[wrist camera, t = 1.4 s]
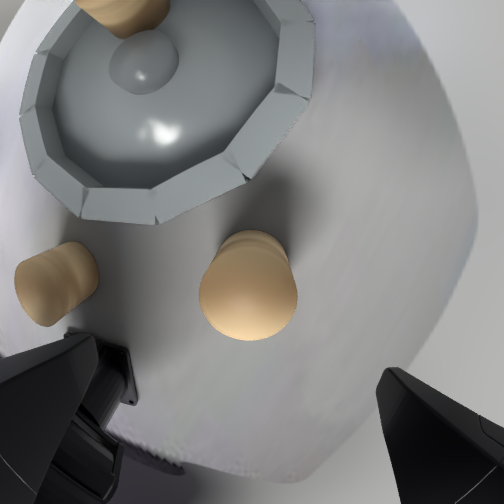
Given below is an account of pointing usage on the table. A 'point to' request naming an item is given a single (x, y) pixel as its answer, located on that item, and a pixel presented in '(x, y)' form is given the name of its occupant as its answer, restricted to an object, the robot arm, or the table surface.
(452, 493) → the robot arm
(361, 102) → the table surface
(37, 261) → the bead
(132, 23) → the tan short rounded cylinder
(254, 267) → the bead
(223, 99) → the tray
